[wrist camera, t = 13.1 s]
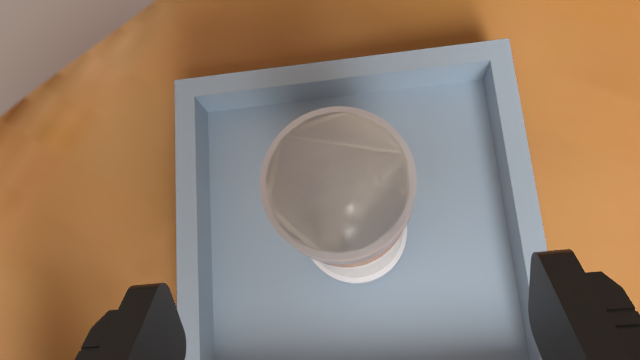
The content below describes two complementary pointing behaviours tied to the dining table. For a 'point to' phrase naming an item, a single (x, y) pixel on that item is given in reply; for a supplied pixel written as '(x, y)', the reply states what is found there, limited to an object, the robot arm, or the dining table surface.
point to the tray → (422, 228)
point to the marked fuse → (341, 191)
